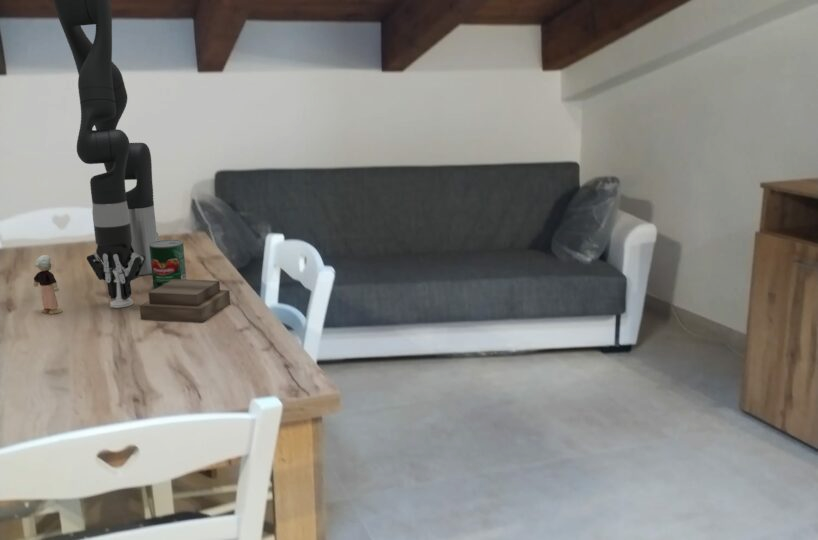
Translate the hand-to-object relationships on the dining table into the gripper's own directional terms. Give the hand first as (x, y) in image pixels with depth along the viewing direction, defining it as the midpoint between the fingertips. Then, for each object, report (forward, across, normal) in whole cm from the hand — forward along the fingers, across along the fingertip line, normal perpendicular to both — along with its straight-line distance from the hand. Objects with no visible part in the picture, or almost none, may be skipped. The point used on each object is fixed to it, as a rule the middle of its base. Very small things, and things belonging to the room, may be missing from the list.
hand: (120, 297), depth 178 cm
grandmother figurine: (+2, +13, +7) cm, 15 cm away
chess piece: (+2, 0, 0) cm, 2 cm away
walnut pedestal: (+2, -17, +2) cm, 17 cm away
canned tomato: (+2, -4, -15) cm, 16 cm away
